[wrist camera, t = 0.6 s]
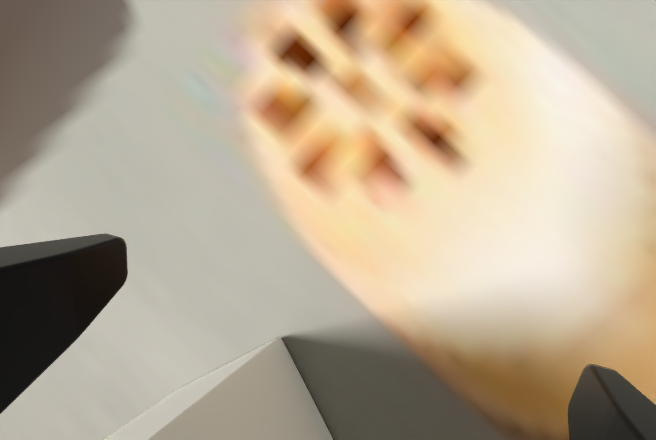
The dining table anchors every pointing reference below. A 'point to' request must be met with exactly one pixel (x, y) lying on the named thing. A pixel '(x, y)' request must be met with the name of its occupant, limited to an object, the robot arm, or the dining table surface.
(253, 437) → the milk carton
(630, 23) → the dining table surface
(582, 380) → the robot arm
